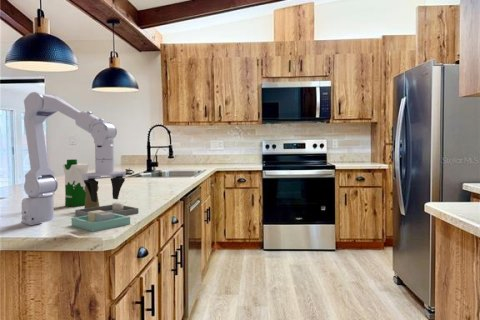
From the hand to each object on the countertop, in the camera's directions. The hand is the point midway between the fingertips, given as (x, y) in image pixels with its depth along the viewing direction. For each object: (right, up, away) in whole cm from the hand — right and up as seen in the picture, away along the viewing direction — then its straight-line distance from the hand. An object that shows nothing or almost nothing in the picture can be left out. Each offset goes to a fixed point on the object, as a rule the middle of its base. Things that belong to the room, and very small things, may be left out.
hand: (105, 200), depth 126 cm
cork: (-14, -7, +26) cm, 30 cm away
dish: (-1, -8, -2) cm, 9 cm away
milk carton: (-26, -7, +40) cm, 48 cm away
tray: (-5, -8, +16) cm, 19 cm away
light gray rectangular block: (+1, -8, -3) cm, 9 cm away
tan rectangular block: (-3, -8, 0) cm, 8 cm away
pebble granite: (-2, -7, +20) cm, 21 cm away
